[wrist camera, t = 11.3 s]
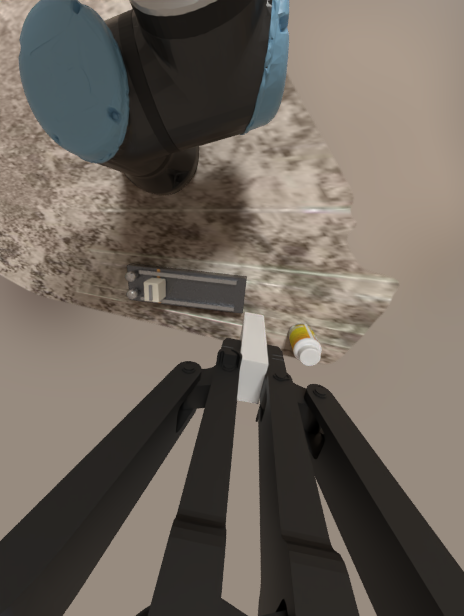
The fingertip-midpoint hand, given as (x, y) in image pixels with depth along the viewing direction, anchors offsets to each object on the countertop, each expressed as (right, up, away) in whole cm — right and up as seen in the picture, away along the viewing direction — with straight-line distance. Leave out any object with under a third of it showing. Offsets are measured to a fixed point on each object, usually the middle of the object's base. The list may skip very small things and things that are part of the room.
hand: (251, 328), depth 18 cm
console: (-12, +6, +33) cm, 36 cm away
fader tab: (-18, +6, +31) cm, 37 cm away
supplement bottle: (+14, -4, +35) cm, 38 cm away
